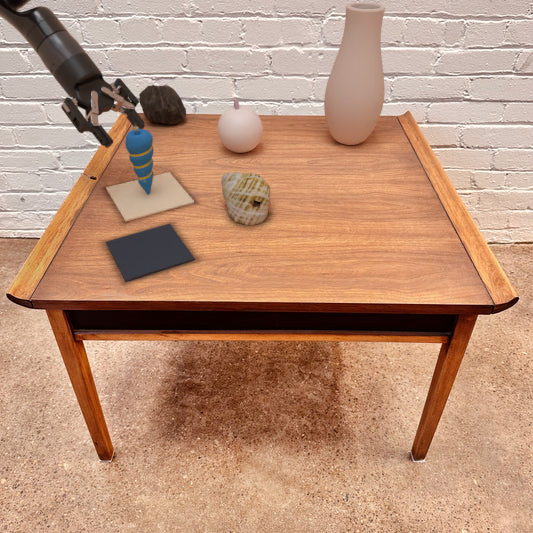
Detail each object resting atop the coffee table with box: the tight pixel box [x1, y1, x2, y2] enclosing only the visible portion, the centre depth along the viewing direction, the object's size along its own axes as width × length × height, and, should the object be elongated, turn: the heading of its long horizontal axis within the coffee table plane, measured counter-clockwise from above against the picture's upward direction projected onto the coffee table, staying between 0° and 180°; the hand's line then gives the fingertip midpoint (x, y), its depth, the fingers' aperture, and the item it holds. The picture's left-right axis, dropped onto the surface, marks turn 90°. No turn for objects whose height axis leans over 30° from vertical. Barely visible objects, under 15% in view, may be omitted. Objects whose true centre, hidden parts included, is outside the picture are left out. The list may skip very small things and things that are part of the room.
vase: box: [323, 1, 386, 146], centre depth 110 cm, size 14×14×30 cm
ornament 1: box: [124, 126, 154, 194], centre depth 93 cm, size 5×5×15 cm
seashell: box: [220, 172, 271, 226], centre depth 92 cm, size 10×10×10 cm
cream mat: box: [105, 171, 195, 223], centre depth 98 cm, size 14×14×1 cm
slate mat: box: [105, 223, 196, 283], centre depth 83 cm, size 12×12×1 cm
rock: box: [138, 84, 187, 125], centre depth 125 cm, size 10×11×10 cm
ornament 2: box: [217, 98, 264, 154], centre depth 111 cm, size 10×10×12 cm
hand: (126, 137), depth 92 cm, fingers open, 8 cm apart
